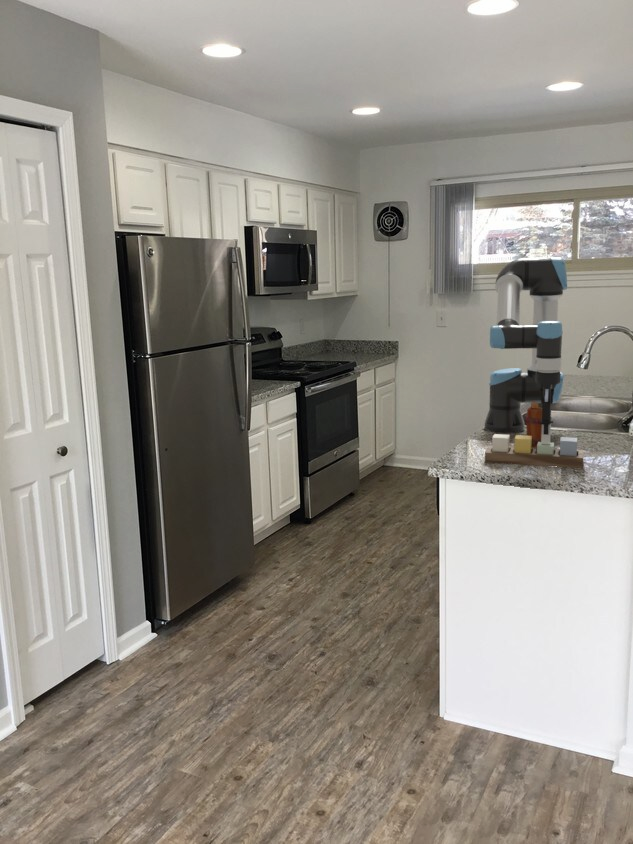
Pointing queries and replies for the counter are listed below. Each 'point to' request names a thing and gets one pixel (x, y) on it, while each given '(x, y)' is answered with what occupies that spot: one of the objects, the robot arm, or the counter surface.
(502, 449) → the key cream
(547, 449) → the key sage
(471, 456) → the counter surface
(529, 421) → the orange bottle
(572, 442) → the key slate
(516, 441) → the key mustard
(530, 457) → the keypad board
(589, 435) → the counter surface
